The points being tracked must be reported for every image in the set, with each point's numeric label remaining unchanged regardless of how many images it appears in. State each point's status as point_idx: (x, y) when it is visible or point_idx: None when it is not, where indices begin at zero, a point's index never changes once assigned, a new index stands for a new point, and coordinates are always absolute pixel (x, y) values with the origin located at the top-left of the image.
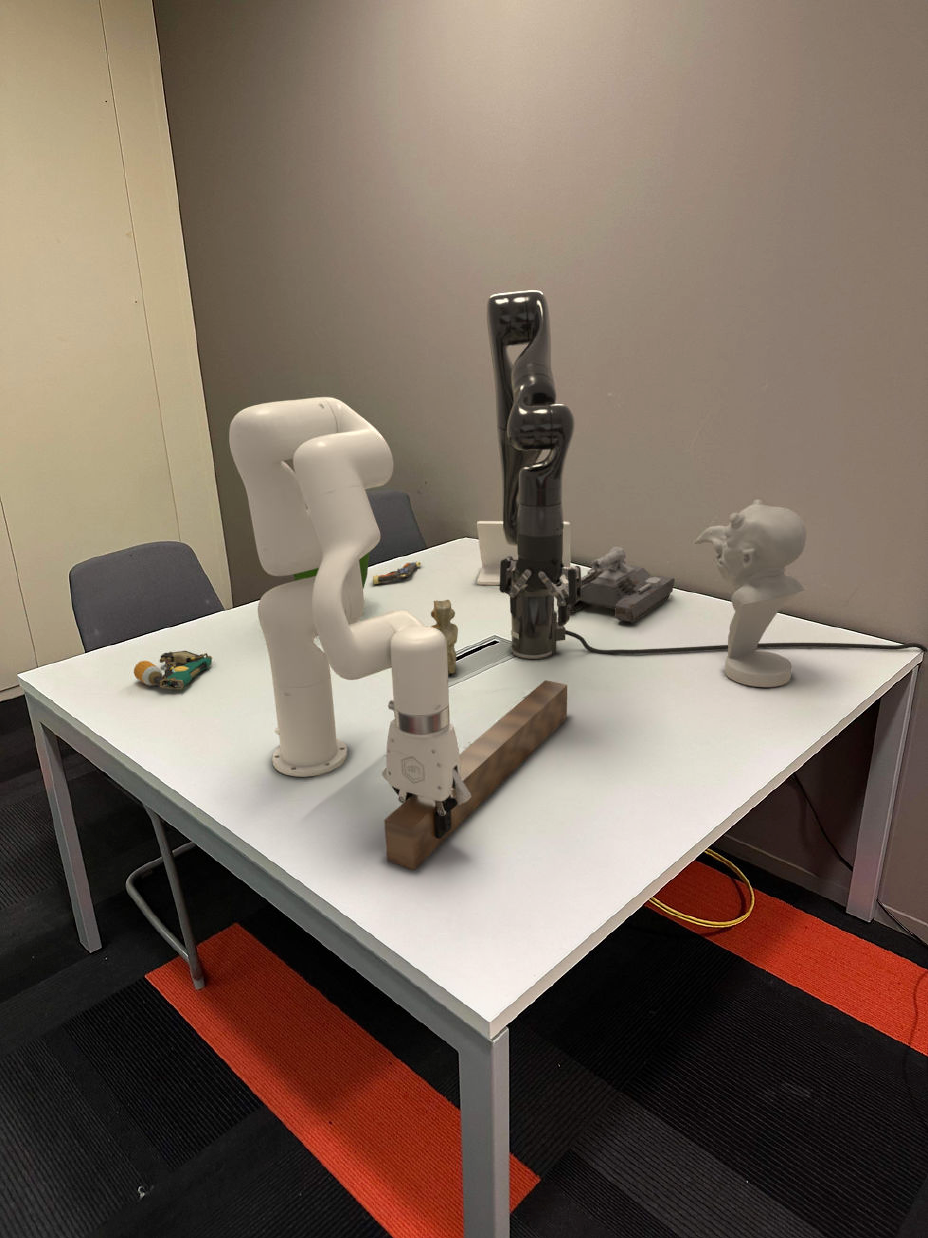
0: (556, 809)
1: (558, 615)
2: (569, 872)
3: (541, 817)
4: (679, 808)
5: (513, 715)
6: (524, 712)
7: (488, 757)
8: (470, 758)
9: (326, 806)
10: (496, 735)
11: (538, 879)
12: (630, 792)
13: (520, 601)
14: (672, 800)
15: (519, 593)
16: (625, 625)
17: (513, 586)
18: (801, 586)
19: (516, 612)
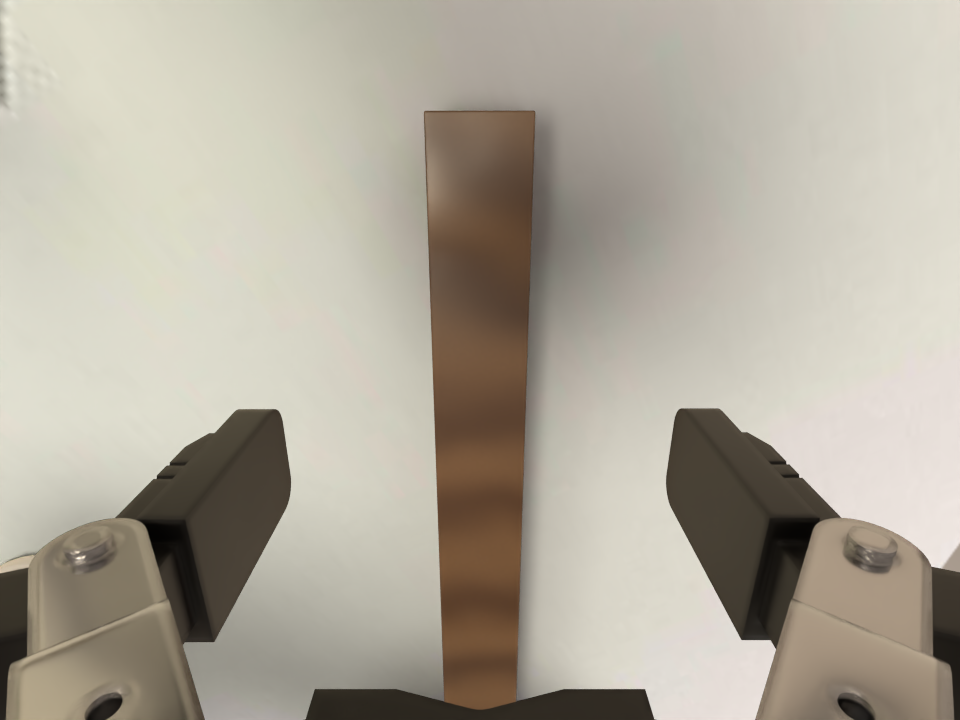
0: (666, 555)
1: (705, 563)
2: (746, 686)
3: (646, 588)
4: (934, 443)
5: (462, 443)
6: (485, 411)
7: (517, 652)
8: (478, 671)
9: (251, 713)
10: (479, 563)
11: (701, 715)
12: (812, 433)
13: (225, 512)
14: (917, 421)
15: (162, 579)
16: None
17: (3, 650)
18: None
19: (273, 529)
